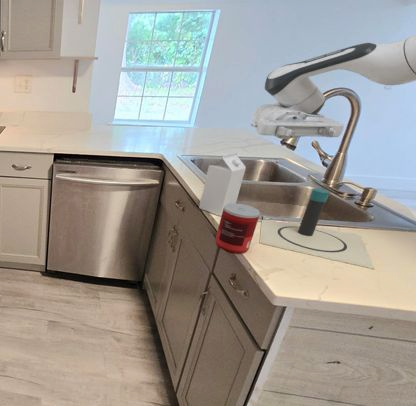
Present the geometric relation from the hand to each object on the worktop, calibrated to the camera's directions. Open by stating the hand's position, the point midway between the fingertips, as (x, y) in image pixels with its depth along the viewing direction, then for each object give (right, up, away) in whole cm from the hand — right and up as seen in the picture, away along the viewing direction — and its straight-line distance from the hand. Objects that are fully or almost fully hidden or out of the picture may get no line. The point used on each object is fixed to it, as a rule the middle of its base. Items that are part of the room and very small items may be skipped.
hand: (311, 134), depth 102 cm
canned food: (-26, -31, -4) cm, 41 cm away
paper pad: (-3, -29, -2) cm, 30 cm away
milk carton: (-16, -22, +16) cm, 32 cm away
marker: (-2, -28, 0) cm, 28 cm away
